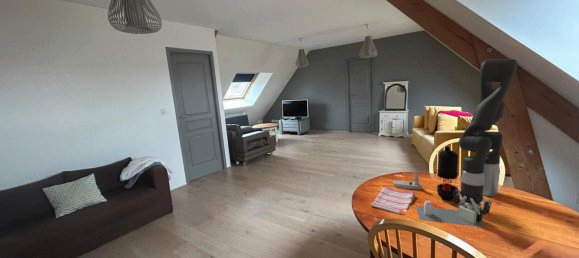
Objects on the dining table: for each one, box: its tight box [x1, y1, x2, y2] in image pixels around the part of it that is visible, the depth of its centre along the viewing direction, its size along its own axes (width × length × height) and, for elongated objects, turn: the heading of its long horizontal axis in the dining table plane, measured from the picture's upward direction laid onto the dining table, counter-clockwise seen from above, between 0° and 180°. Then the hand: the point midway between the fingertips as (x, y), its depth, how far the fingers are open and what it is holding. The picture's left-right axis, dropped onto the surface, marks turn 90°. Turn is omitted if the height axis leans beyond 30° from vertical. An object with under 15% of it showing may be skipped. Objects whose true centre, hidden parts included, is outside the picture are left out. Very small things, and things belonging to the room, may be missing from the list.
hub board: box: [415, 200, 488, 228], centre depth 105 cm, size 24×12×8 cm, turn 69°
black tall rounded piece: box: [436, 146, 459, 201], centre depth 118 cm, size 14×9×30 cm
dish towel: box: [370, 186, 416, 216], centre depth 124 cm, size 17×23×4 cm
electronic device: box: [392, 171, 423, 190], centre depth 139 cm, size 5×10×15 cm
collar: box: [458, 203, 477, 224], centre depth 102 cm, size 6×6×5 cm
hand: (469, 217), depth 102 cm, fingers closed on collar, 6 cm apart
